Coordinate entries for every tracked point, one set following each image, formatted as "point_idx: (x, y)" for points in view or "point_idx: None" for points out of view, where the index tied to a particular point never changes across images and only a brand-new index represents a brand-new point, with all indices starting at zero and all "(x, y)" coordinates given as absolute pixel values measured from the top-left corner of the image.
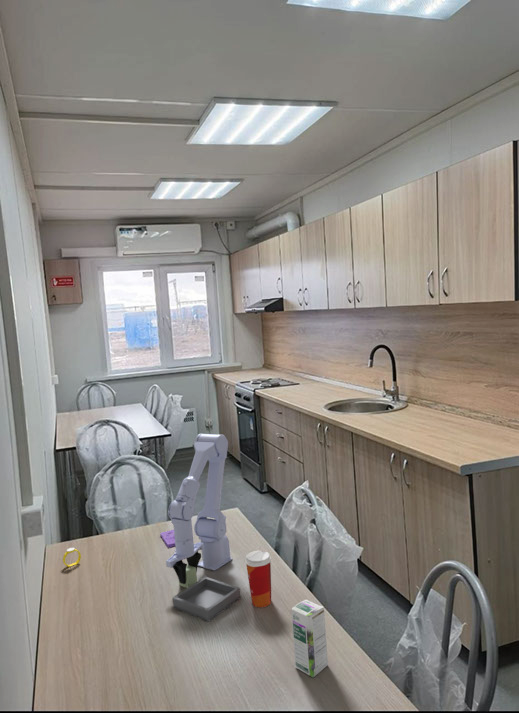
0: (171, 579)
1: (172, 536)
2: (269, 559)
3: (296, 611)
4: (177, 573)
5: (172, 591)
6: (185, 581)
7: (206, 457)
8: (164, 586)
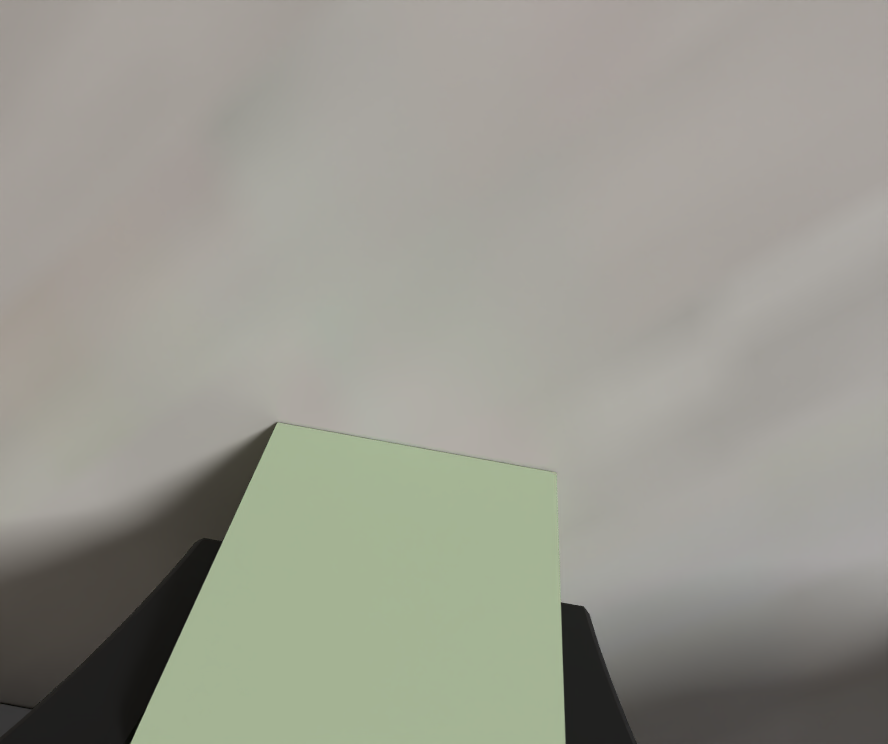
0: (419, 67)
1: None
2: None
3: None
4: (52, 735)
5: (25, 421)
6: None
7: None
8: (47, 121)
